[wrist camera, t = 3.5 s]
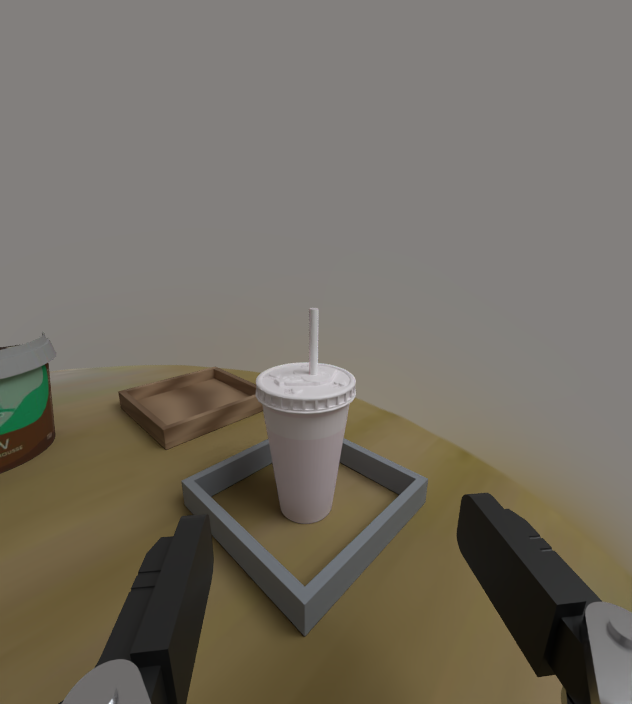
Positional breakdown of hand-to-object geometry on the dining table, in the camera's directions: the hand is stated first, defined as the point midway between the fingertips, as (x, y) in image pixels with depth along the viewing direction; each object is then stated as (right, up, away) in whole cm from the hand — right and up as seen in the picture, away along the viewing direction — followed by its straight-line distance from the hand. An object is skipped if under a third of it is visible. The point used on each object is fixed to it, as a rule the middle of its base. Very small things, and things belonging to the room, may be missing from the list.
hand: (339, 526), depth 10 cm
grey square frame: (-1, -5, +13) cm, 15 cm away
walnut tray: (-14, -1, +28) cm, 32 cm away
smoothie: (-1, -6, +13) cm, 15 cm away
